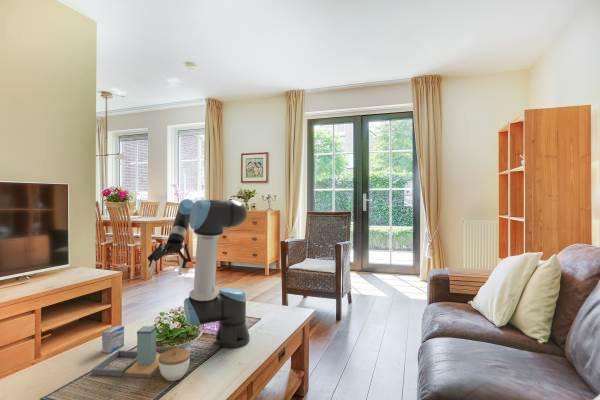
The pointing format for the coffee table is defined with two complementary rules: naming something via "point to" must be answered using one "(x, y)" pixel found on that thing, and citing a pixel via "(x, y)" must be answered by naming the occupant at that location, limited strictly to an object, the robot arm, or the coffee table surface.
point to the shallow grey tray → (111, 372)
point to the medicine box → (113, 339)
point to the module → (146, 346)
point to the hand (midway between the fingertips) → (164, 273)
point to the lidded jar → (174, 363)
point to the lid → (143, 369)
